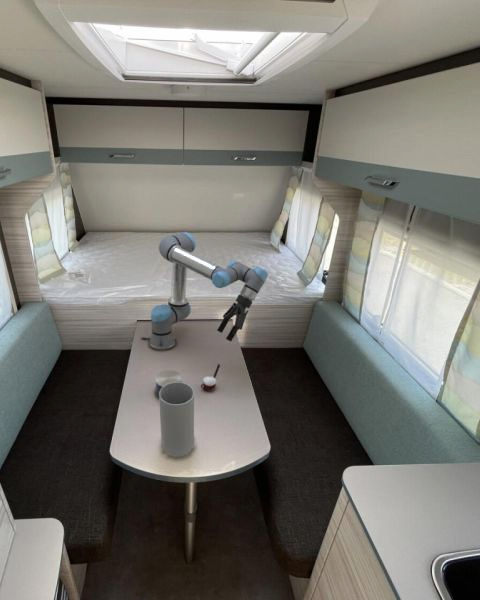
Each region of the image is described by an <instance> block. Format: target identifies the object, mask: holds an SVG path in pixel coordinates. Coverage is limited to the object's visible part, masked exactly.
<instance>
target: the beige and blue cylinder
mask: <svg viewBox="0 0 480 600" xmlns="http://www.w3.org/2000/svg"><path fill="white" fill-rule="evenodd" d="M154 381H155V393H156V396H157V398H159V392H160V390H161V388H162V387H163V386H165V385H166V384H169V383H172V382H182V381H183V376H182V374H181V373H180V372H178V371H176V370H173V369H170V370H169V369H166V370H162V371H160V372H158V373H157V374H156V376H155V377H154Z"/></svg>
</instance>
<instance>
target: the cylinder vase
mask: <svg viewBox="0 0 480 600" xmlns="http://www.w3.org/2000/svg"><path fill="white" fill-rule="evenodd" d="M158 400H159V419H160V421H159V422H160V439H161V442H160V443H161V448H162V450H163V451H164V453H165V454H166V455H169V456H171V457H174V458H180V457H184V456H186V455H188V454H190V452H192V450H193V449H194V445H195V390H194V389H193V387H192V386H191V385H190V384H188V383H186V382H182V381H181V382H172V383H169V384H166V385H165V386H163V387H162V388H161V390H160V392H159V397H158Z"/></svg>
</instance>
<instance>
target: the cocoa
mask: <svg viewBox="0 0 480 600" xmlns="http://www.w3.org/2000/svg"><path fill="white" fill-rule="evenodd" d="M220 367H221V364H220V363H217V366H216V368H215V371H214V373H213V375H212V376H211V375H210V376H205V377H204V378H203V379H202V384H201V385H200V388H202V389H203V390H206V391H209V392H210V391H213V390H215V388H216V385H217V379H216V378H217V375H218V372H219V370H220Z"/></svg>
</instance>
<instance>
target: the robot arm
mask: <svg viewBox="0 0 480 600" xmlns="http://www.w3.org/2000/svg"><path fill="white" fill-rule="evenodd" d="M196 245H197V243H196V240H195V237H193V235H192V234H191V233H189V232H186V231H185V232H178V233H175V234H171V235H166V236H164V237H163V238H162V239H161V240H160V242H159V245H158V251H159V254H160V255H161V257H162V258H163V259H164V260H166V261H168V262H170V263H172V264H171V266H172V267H171V290H170V297H169V298H168V301H167V304H158V305H155V306H154V307H153V308H152V309H151V311H150V313H151V314H150V319H151V335H150V337H141V340H149V346H150V348H151V349H153V350H155V351H156V350H157V351H166V350H170V349H172V348H173V347H174V346H176V345H175V344H176V337H175V336H174V333H173V325H175V324H177V323H179V322H181V321H183V320H185V319H186V318H188V317H189V316H190V314H191V312H192V306H191V304H190V302H189V301H188V298H186V295H187V294H186V293H187V278H188V270H190V271H192V272H194V273H196V274H199V275H200V276H203V277H205V278H206V279H208V280H210V281H211V283H212V285H213V286H214V287H215V288H218V289H223V288H226V287H228V286H230V285H231V284H234V283H235V282H238V281H240V282H242V283H244V285H243V287H242V288H241V289H240V292H239V294H238V295H237V297H236V299H235V302H233V303H232V305H231V306H230V307H229V308H228V309H227V310H226V311H225V312H224V314H223V315H222V317H223V319H222V321H221V323H220V324H219V326H218V328H217V329H216V332H219V333H220V334H222V333H223V332H224V330H225V328H226V327H227V325H228V323H229V322H230V320H231V319H232V318H233V317H235V319H234V324H233V326H232V327H231V329H230V331H229V332H228V334H227V336H226V337H225V340H227V341H229V342H232V341H233V340H234V337H235V336H236V334H237V332H238V331H239V330H243V327H244V324H245V320H246V318H247V315H248V313H249V310H248V309H250V307H251V306H252V305H253V301H255V299H256V298H257V296H258V294H259V293H260V290H261V289H262V288H263V286H264V284H265V283H266V280H267V279H268V277H269V272H268V271H267V270H265V269H264V268H262V267H260V266H257V265H256V266H254V268H251V267H249V266H247V265H246V264H243V263H242V262H240V261H237V260H231V261H230V262H228V264H227V266H226V268H224V267H222V266H220V265H217V264H216V263H213V262H211V261H209V260H206V259H204V258H203V257H201V256H198V255H196V254H195V253H193V252H194V251H195V249H196Z"/></svg>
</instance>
